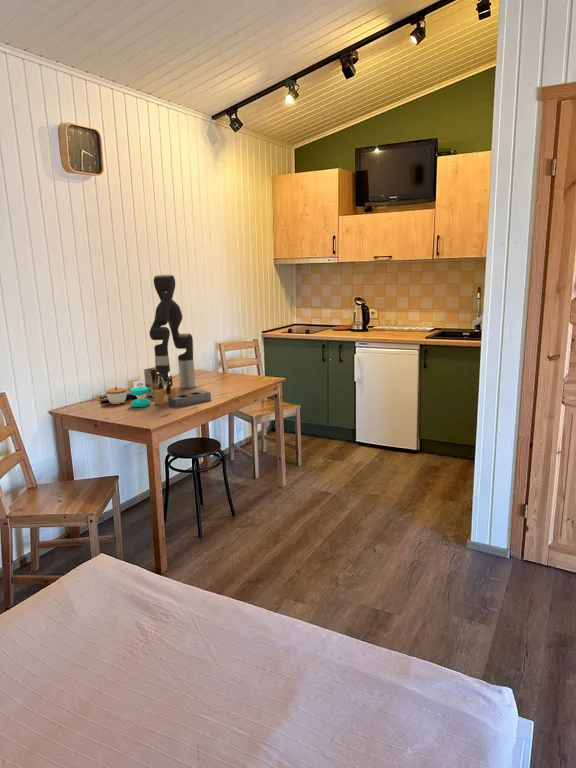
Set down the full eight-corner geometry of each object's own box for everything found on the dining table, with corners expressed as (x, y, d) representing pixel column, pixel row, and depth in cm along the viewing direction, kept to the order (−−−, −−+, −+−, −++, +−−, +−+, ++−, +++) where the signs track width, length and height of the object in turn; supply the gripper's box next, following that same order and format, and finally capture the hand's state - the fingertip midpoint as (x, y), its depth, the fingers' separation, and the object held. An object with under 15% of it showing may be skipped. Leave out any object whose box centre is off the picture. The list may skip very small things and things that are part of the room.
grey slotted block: (168, 405, 290) (167, 397, 289) (203, 398, 304) (202, 390, 303) (176, 408, 284) (175, 399, 283) (211, 400, 298) (210, 392, 297)
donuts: (134, 390, 283) (126, 388, 291) (136, 409, 285) (128, 406, 293) (152, 387, 290) (143, 385, 297) (153, 405, 292) (144, 402, 299)
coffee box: (154, 397, 311) (151, 370, 308) (146, 396, 314) (143, 369, 311) (165, 394, 319) (162, 367, 315) (156, 393, 322) (154, 366, 318)
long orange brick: (155, 403, 295) (154, 390, 294) (173, 400, 303) (172, 387, 301) (158, 404, 293) (157, 391, 291) (176, 401, 300) (175, 387, 298)
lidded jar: (111, 401, 305) (109, 385, 303) (129, 400, 305) (128, 384, 303) (104, 406, 295) (102, 389, 293) (124, 405, 295) (122, 388, 293)
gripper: (149, 363, 296) (152, 392, 299) (162, 365, 285) (165, 395, 289) (162, 361, 301) (164, 390, 304) (175, 364, 290) (177, 393, 294)
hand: (164, 392), depth 296 cm, fingers open, 8 cm apart
